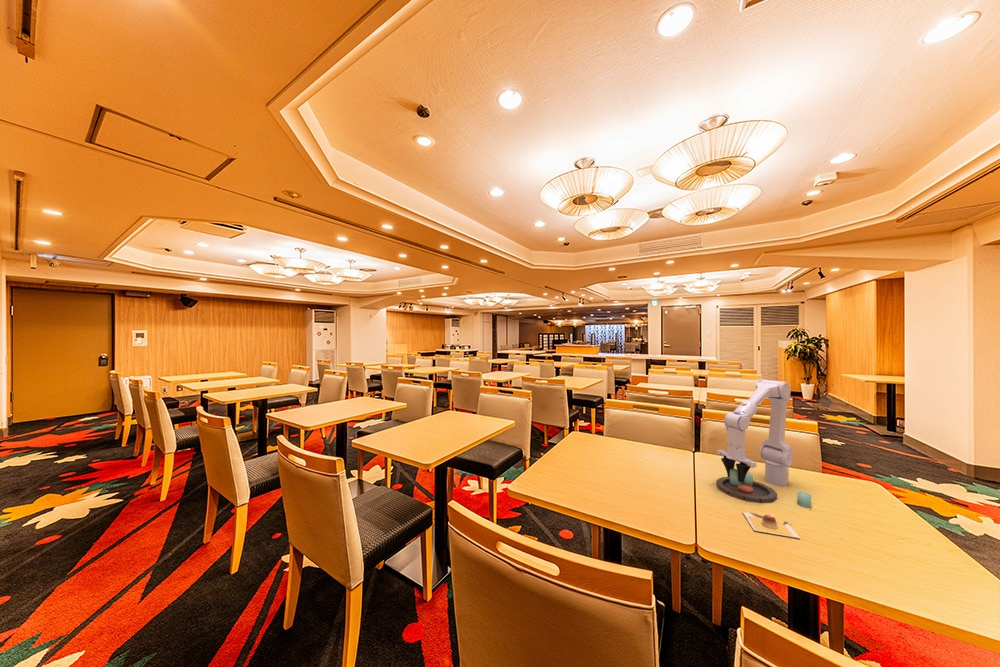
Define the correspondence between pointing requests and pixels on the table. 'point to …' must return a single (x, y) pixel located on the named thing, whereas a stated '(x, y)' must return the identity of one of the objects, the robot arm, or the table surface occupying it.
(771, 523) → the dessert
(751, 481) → the pale green cylinder
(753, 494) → the ring tray
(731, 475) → the grey green cylinder
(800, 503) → the bead
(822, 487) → the table surface
